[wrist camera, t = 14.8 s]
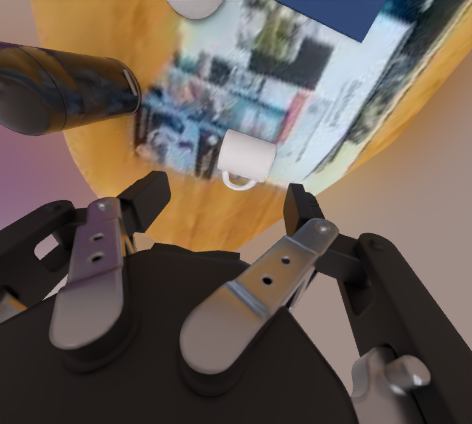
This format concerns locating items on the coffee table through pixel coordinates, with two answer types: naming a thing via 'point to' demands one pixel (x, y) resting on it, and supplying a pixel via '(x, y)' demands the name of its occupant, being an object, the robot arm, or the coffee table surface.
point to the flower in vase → (194, 7)
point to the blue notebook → (340, 14)
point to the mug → (245, 158)
